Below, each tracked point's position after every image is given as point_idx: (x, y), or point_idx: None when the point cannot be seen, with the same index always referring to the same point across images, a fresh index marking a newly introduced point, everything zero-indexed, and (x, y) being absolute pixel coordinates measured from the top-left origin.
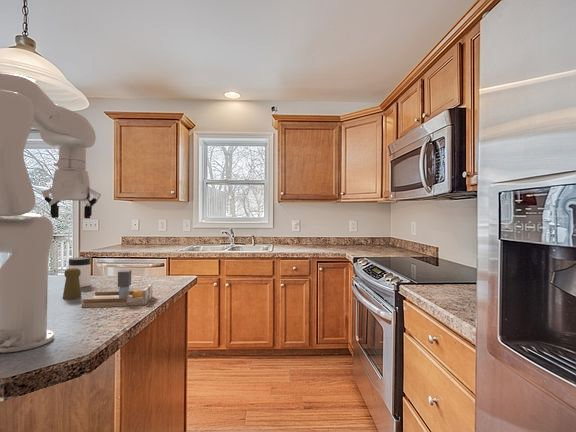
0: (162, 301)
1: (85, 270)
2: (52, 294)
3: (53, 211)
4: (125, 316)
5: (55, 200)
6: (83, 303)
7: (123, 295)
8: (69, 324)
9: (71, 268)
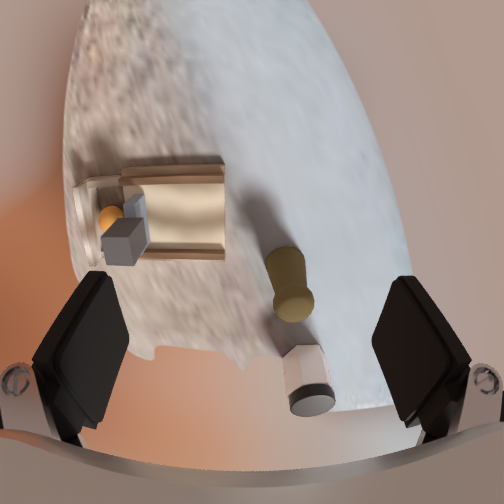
0: (67, 205)
1: (293, 378)
2: (336, 294)
3: (426, 315)
4: (99, 83)
5: (467, 428)
6: (221, 169)
7: (131, 197)
8: (197, 29)
9: (298, 309)
